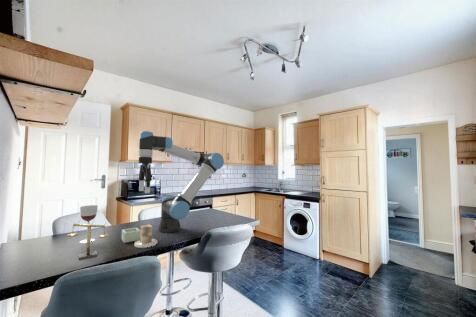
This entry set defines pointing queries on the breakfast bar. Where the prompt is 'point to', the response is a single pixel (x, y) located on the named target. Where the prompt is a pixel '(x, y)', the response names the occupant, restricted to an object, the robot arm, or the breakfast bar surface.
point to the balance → (88, 240)
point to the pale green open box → (130, 235)
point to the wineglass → (88, 215)
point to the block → (146, 234)
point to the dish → (140, 245)
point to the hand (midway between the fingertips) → (144, 191)
